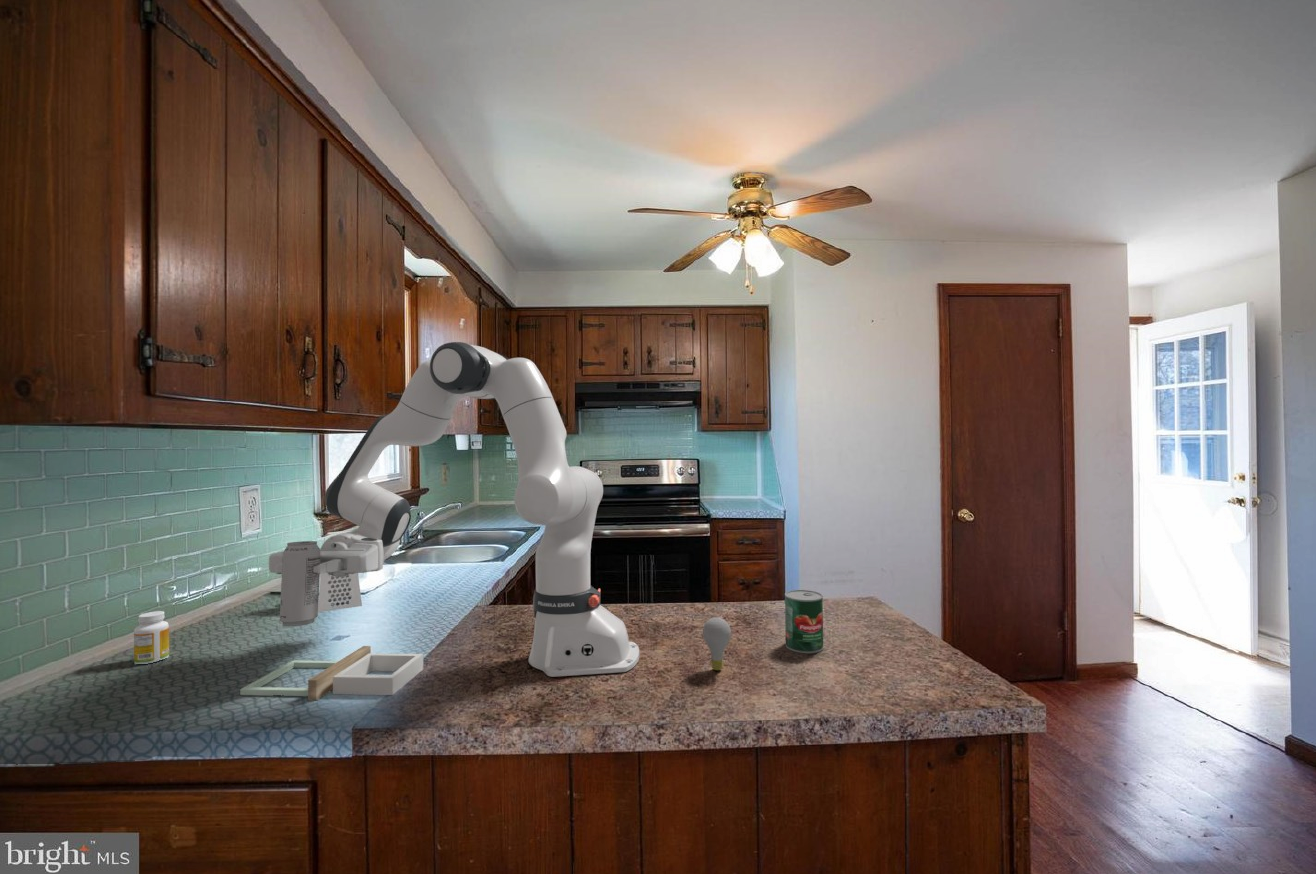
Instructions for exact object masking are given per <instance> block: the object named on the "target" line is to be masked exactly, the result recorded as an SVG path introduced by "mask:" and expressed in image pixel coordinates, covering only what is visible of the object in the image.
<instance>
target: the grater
mask: <svg viewBox="0 0 1316 874" xmlns="http://www.w3.org/2000/svg"><path fill="white" fill-rule="evenodd" d="M351 531H352V530H343V531H341V530H340V531H331V532H330V531H329V532H327V533H326V534H324V537H323V539H325V537H327V536H328V535H335V534H336V535H339V534H343V533H346V532H351ZM320 576H321V577H320V581H319V597H318V613H322V612H324V613H325V612H330V611H338V610H345V609H352V608H358V607H362V606H363V604H362V603H363V602H362V594H361V587H360V579H359V573H355V574H350V575H347V576H344V577H336V576H332V575H330V574H329V573H323V574H320ZM347 602H348V603H347ZM337 603H339V604H338V605H337ZM342 603H343V604H342ZM332 604H334V605H333V606H332Z"/></svg>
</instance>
